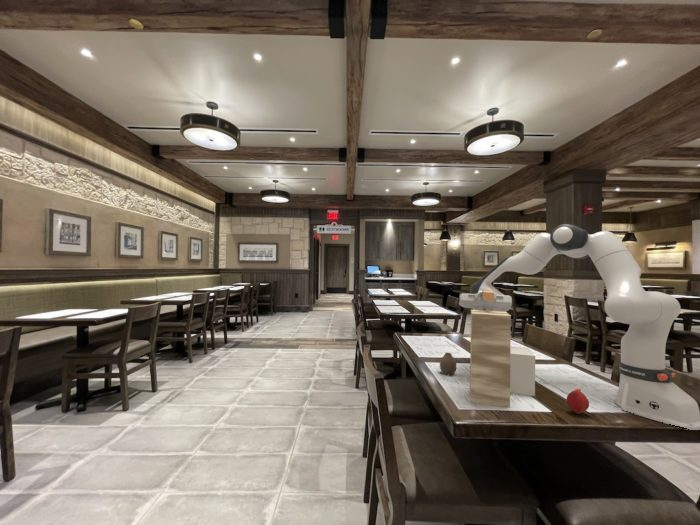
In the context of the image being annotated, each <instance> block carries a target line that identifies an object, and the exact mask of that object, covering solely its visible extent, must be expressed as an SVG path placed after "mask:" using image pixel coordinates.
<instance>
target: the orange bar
mask: <svg viewBox="0 0 700 525" xmlns="http://www.w3.org/2000/svg"><path fill="white" fill-rule="evenodd" d="M481 291H482V298H483V299H484V300H485V301H494V292H492V291H490V290H481Z"/></svg>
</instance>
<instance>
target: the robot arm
mask: <svg viewBox="0 0 700 525" xmlns="http://www.w3.org/2000/svg"><path fill="white" fill-rule="evenodd" d="M556 255H560V256H561V257H565V258H569V259H572V260H583V259H586V258H589V257H590V259H591V261H592V263H593V265H594V266H595V269H596V270H597V271H598V273H599V276H600V277H601V278H602V281H603V282H604V285H605V289H606V294H607V295H606V296H607V297H606V299H605V301H604V312H605V313H606V315H607V316H608V317H609V318H610V319H611V320H613V321H615V322H618V323H621V324H625V325H629V327H628V330H627V331H626V333H625V334H624V335H623V336H622V337H621V339H620V361H619V362H618V375H619V383H618V384H619V385H618V389H617V393H616V397H615V399H614V403H615V404H616V405H617V406H618V407H620V409H621V410H622V411H623V410H624V411H623V412H626V411H628V412H627V413H629V412H631V413H630V414H633V413H634V414H633V415H636V416H640V417H643V418H647V419H649V420H653V421H657V422H659V423H662V422H663V424H666V425H669V424H671V425H670V426H672V425H675V426H680V427H684V428H687V429H686V430H688V429H689V431H699V430H700V407H699V404H698V401H696V400H695V399H694V398H693V397H692V396H690V395H689V394H688V393H687V392H685V390H683V389H682V388H680V387H679V386H678V385H677V384H676V383H674V382H673V378H674V377H675V376H676V372H670V371H669V370H668V369H667V368H666V347H667V345H666V343H667V340H668V336H669V333H670V330H671V328H672V325H673V323H674V321H675V320H676V319H677V318H678V316H680V313H681V308H682V307H681V304H680V302H679V300H678V299H676V298H675V297H674V296H673V295H670V294H668V293H665V292H660V291H656V290H655V291H654V290H653V291H651V290H650V291H648V290H647V291H646V290H645V289H644V287H643V284H642V280H641V275H642V273H643V272H642V269H641V267H640V265H639V264H638V262H637V261H636V259H635V258H634V256H633V255H632V253H631V252H630V251H629V249H628V247H627V246H626V245H625V244H624V243H623V241H622V239H620V238H619V237H618V236H617V235H616V234H614V233H613V232H611V231H607V230H602V231H597V232H595V233H592V234H590V233H588V231H587V230H585V229H583V228H581V227H579V226H576V225H574V224H571V223H570V224H569V223H564V224H559V225H558V226H556V227H555V228H553V229H552V231H551V232H550V233H549V232H541V233H539V234H537V235H536V236H535V237H534V238H532V239H531V240H530V241H529V242H528V243H527V244H526V245H525V247H523V249H522V250H521V251H520V252H519V253H517V254H515V255H509V256H506V257H505V258H503V259H501V260H500V261H499V262H498V263H497V264H496V265H495V266H493V267H492V268H491V269H490V270H489V271H488V272H486V273H485V275H483V276H482V277H481V278H479V279H478V280H477V281H475V282H474V283H473V284H472V285H471V286H470V289H469V293H459V301H458V306H461V307H462V308H465V309H472V310H484V311H502V312H507V313H508V311H509V310H510V309H511V307H512V305H513V299H512V298H513V297H512V296H511V295H505V294H504V293H502V292H501V291H499V290H498V289H497V288H495V286H493V284H492V282H494V281H495V280H496V279H498V277H500V276H501V275H502V274H504V273H505V272H509V271H510V272H515V273H519V274H523V275H528V276H529V275H535V274H538V273H540V272H541V271H542V270H543V269H544V268H545V267H546V265H547V264H548V263H549V262H550V260H552V258H553V257H555V256H556ZM481 290H490V291H492V292H494V301H485V300H484V299H483V298H482V291H481ZM675 426H674V427H675Z"/></svg>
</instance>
